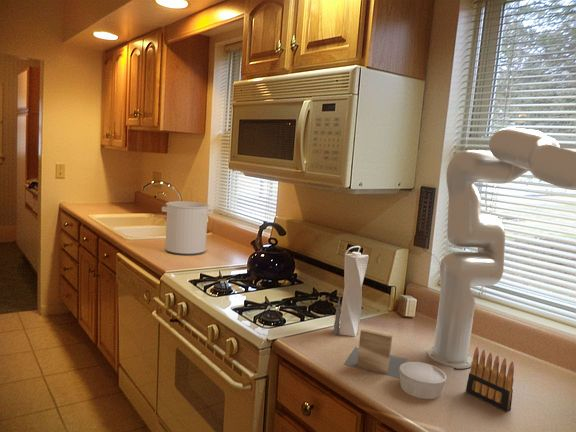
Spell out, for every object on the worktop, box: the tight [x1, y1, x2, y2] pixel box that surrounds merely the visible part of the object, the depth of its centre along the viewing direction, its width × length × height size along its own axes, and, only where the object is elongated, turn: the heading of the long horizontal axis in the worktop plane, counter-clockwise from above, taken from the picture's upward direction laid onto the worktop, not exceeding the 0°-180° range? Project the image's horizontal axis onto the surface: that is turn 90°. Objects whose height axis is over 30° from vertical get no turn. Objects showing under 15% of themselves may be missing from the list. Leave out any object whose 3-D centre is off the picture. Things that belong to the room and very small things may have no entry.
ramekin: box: [399, 361, 448, 400], centre depth 117 cm, size 11×11×5 cm
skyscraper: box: [333, 245, 370, 338], centre depth 148 cm, size 8×8×28 cm
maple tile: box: [357, 327, 393, 374], centre depth 126 cm, size 2×8×10 cm, turn 68°
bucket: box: [161, 200, 214, 256], centre depth 243 cm, size 26×22×24 cm
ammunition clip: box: [465, 346, 515, 413], centre depth 114 cm, size 11×2×12 cm, turn 39°
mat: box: [343, 346, 408, 379], centre depth 131 cm, size 13×15×1 cm
